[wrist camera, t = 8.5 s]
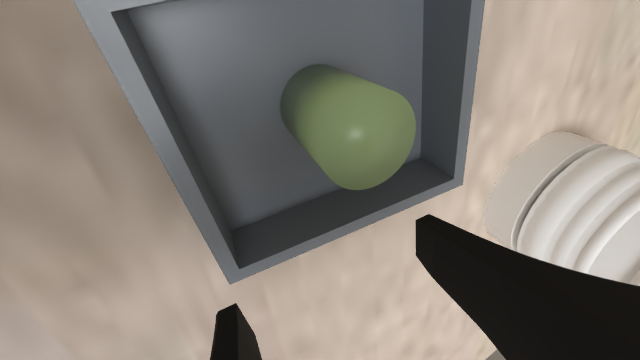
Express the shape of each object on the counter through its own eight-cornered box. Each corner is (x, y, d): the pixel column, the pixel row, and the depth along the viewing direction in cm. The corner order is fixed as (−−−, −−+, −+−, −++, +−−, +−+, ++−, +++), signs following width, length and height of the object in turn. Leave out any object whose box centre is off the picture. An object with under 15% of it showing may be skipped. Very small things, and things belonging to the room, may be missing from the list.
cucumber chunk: (290, 150, 18) (331, 204, 13) (270, 77, 15) (310, 109, 10) (355, 127, 19) (416, 169, 14) (346, 54, 16) (415, 74, 11)
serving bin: (222, 239, 20) (229, 284, 16) (97, -8, 12) (64, -14, 9) (423, 160, 23) (462, 184, 20) (430, -70, 15) (495, -91, 12)
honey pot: (562, 208, 36) (816, 341, 22) (478, 255, 34) (700, 440, 19) (593, 111, 29) (1007, 215, 14) (488, 162, 26) (858, 349, 12)
